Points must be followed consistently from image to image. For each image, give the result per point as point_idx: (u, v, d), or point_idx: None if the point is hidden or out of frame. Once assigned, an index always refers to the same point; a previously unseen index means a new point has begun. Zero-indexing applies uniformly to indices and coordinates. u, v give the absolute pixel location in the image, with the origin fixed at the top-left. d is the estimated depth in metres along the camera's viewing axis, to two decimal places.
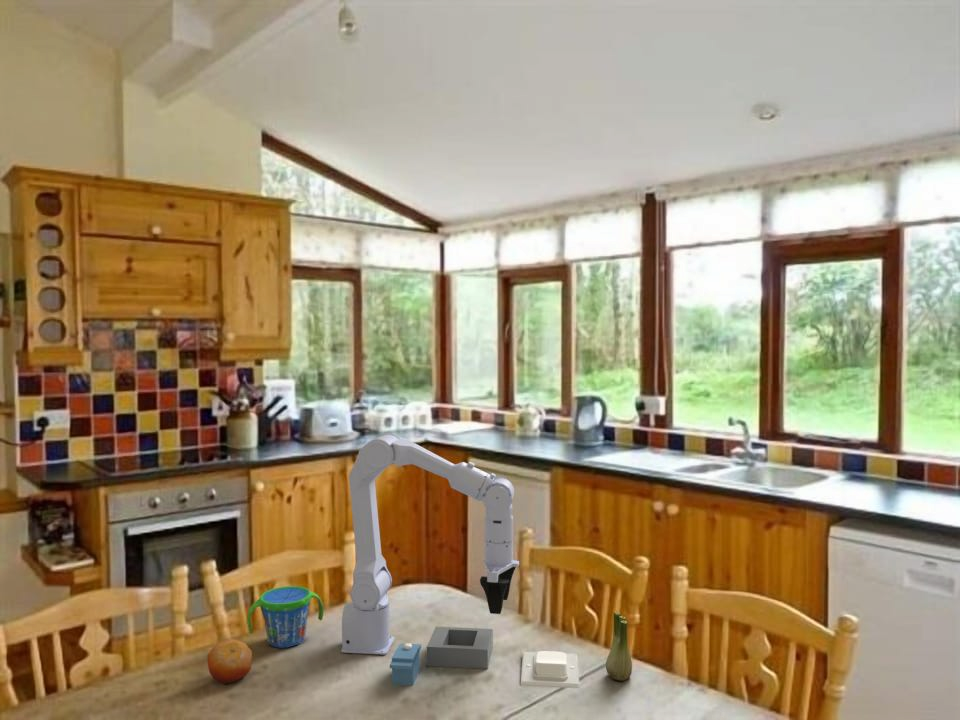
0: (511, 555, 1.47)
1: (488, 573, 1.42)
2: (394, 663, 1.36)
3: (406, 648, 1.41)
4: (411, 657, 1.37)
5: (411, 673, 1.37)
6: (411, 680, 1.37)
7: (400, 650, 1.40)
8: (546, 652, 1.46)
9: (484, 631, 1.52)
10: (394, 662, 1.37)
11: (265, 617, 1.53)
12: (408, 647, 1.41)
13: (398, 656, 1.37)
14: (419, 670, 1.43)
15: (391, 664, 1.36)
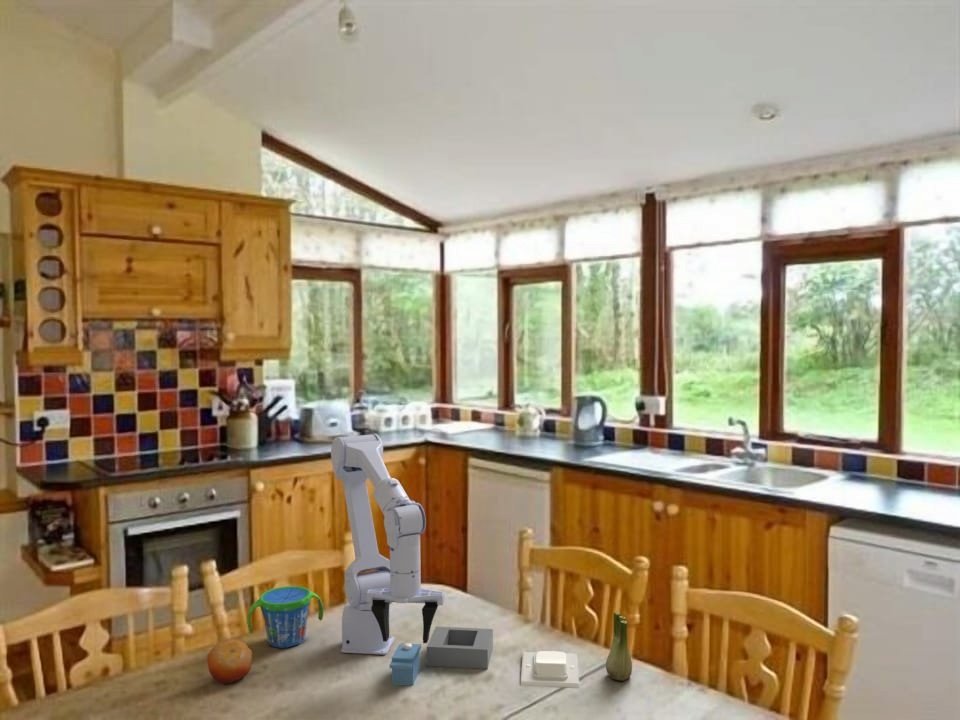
0: (397, 588, 1.37)
1: None
2: (393, 663, 1.36)
3: (406, 648, 1.41)
4: (411, 657, 1.37)
5: (411, 673, 1.37)
6: (411, 680, 1.37)
7: (400, 650, 1.40)
8: (546, 652, 1.46)
9: (484, 631, 1.52)
10: (394, 662, 1.37)
11: (265, 617, 1.53)
12: (408, 647, 1.41)
13: (398, 657, 1.37)
14: (419, 670, 1.43)
15: (391, 664, 1.36)
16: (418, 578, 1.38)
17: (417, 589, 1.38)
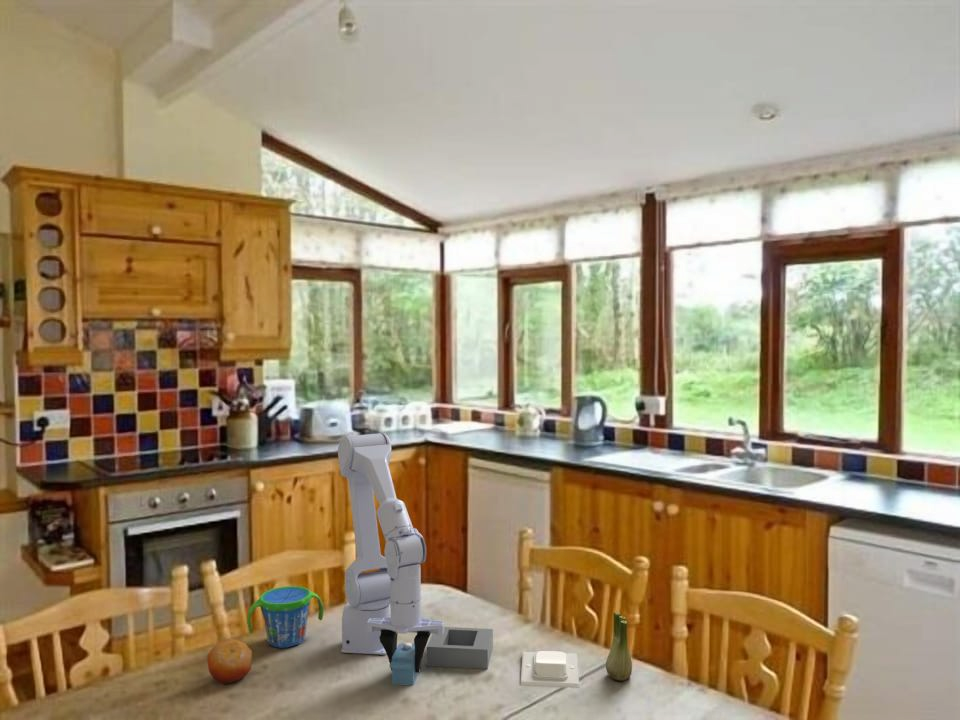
0: (397, 618, 1.37)
1: None
2: (394, 663, 1.36)
3: (406, 648, 1.41)
4: (411, 657, 1.37)
5: (411, 673, 1.37)
6: (411, 680, 1.37)
7: (400, 650, 1.40)
8: (546, 652, 1.46)
9: (484, 631, 1.52)
10: (394, 661, 1.37)
11: (265, 617, 1.53)
12: (408, 647, 1.41)
13: (398, 656, 1.37)
14: None
15: (391, 664, 1.36)
16: (419, 608, 1.38)
17: (417, 619, 1.38)
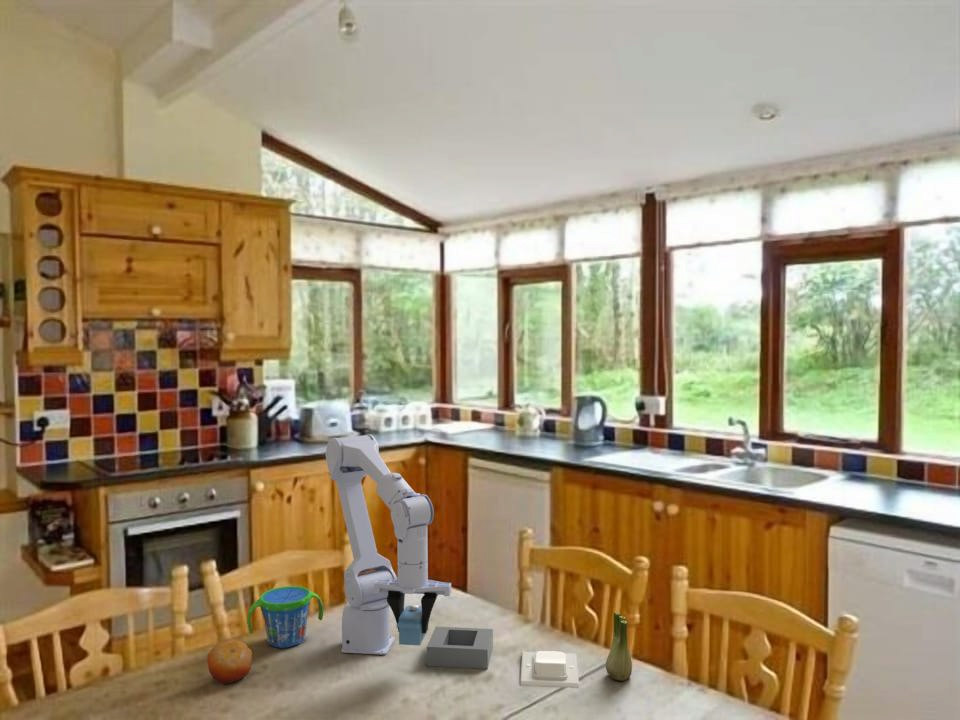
0: (405, 579, 1.38)
1: None
2: (400, 623, 1.37)
3: (413, 609, 1.41)
4: (418, 617, 1.38)
5: (418, 633, 1.38)
6: (418, 640, 1.38)
7: (407, 611, 1.41)
8: (545, 652, 1.46)
9: (484, 631, 1.52)
10: (401, 622, 1.37)
11: (265, 617, 1.53)
12: (415, 608, 1.41)
13: (405, 617, 1.38)
14: (426, 632, 1.43)
15: (398, 624, 1.37)
16: (426, 569, 1.39)
17: (424, 580, 1.39)
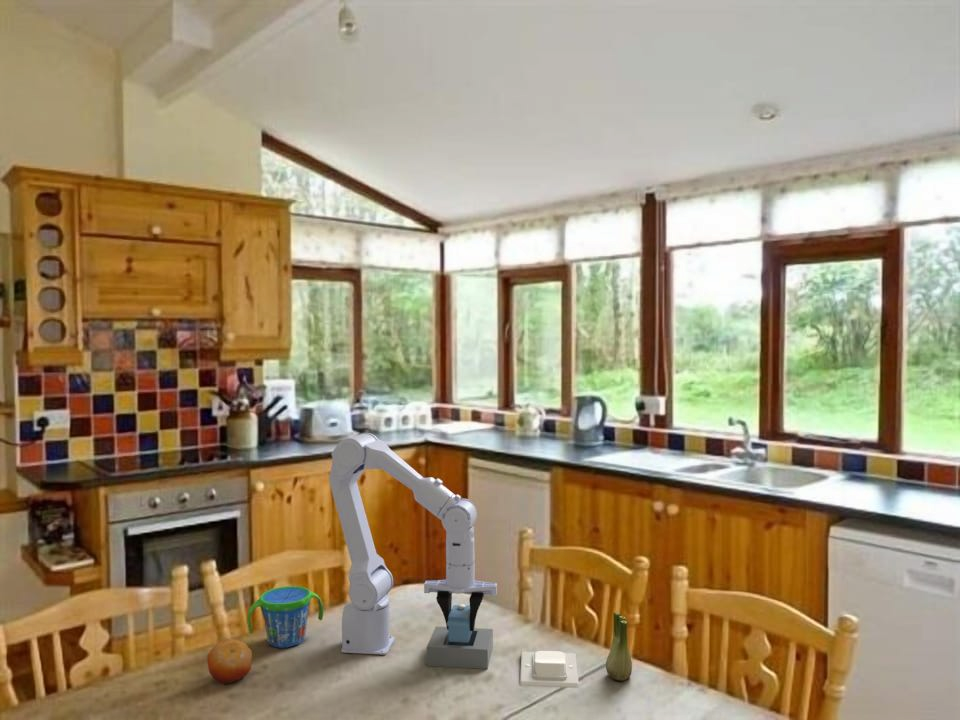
0: (454, 580, 1.46)
1: None
2: (450, 621, 1.45)
3: (460, 608, 1.49)
4: (466, 616, 1.46)
5: (467, 631, 1.45)
6: (467, 637, 1.45)
7: (455, 610, 1.49)
8: (544, 652, 1.46)
9: (484, 631, 1.52)
10: (451, 620, 1.45)
11: (265, 617, 1.53)
12: (462, 607, 1.49)
13: (454, 615, 1.46)
14: None
15: (448, 622, 1.44)
16: (473, 570, 1.47)
17: (472, 580, 1.47)
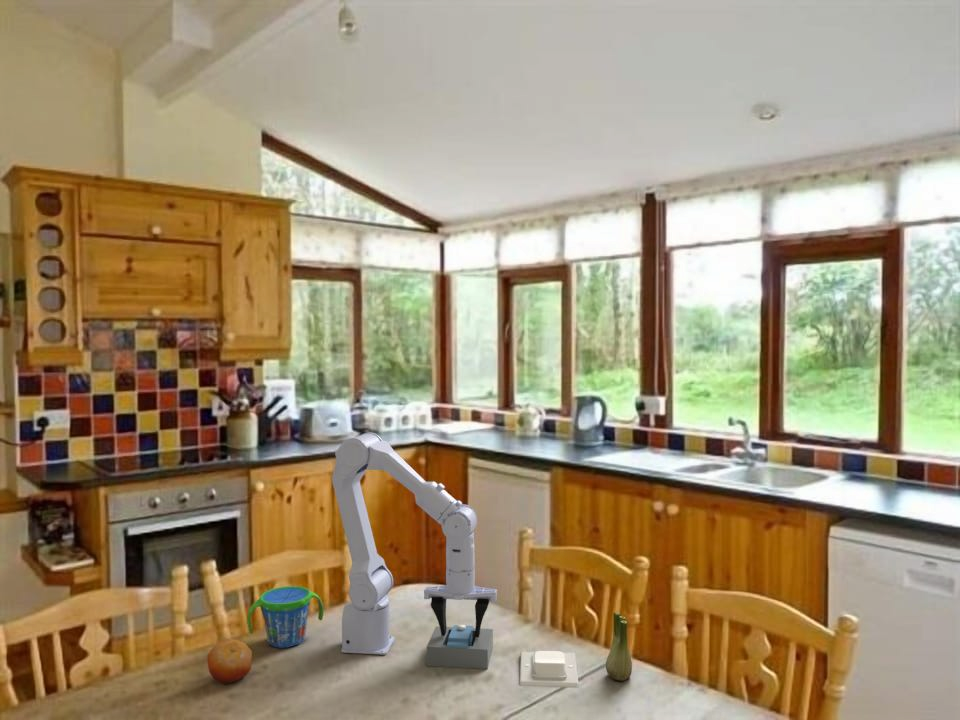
0: (454, 586, 1.46)
1: None
2: (450, 643, 1.45)
3: (460, 629, 1.49)
4: (466, 637, 1.46)
5: None
6: None
7: (455, 631, 1.49)
8: (544, 652, 1.46)
9: (484, 631, 1.52)
10: (451, 641, 1.45)
11: (265, 617, 1.53)
12: (462, 628, 1.49)
13: (454, 637, 1.46)
14: None
15: (448, 643, 1.44)
16: (473, 576, 1.47)
17: (472, 587, 1.47)
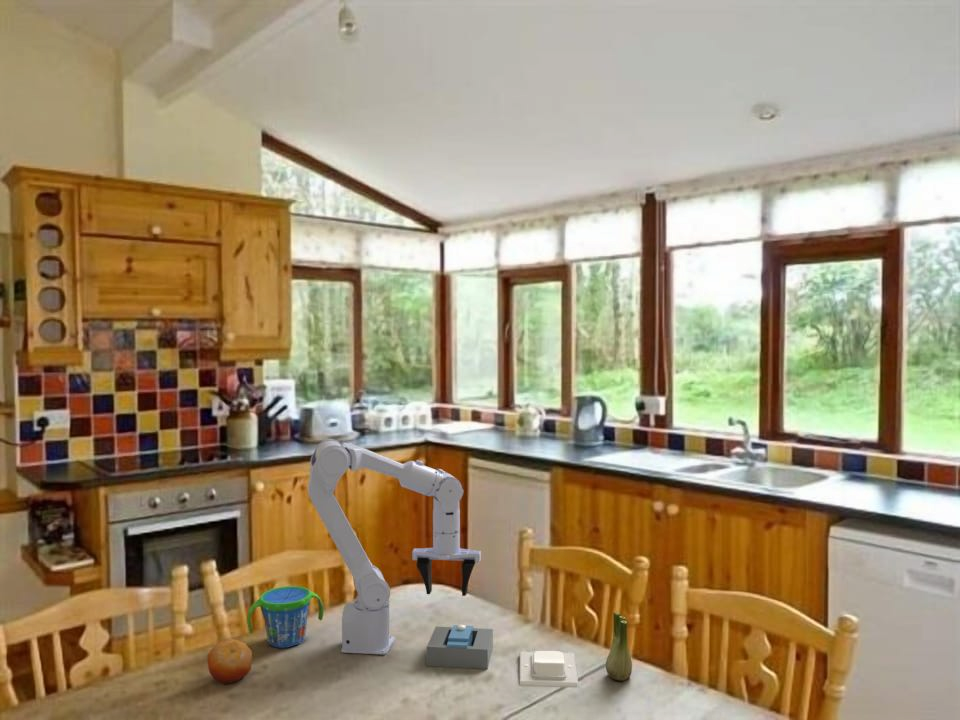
0: (440, 547, 1.55)
1: None
2: (450, 643, 1.45)
3: (460, 629, 1.49)
4: (466, 637, 1.46)
5: None
6: None
7: (455, 631, 1.49)
8: (543, 652, 1.46)
9: (484, 631, 1.52)
10: (451, 641, 1.45)
11: (265, 617, 1.53)
12: (462, 628, 1.49)
13: (454, 637, 1.46)
14: None
15: (448, 643, 1.44)
16: (458, 538, 1.56)
17: (457, 548, 1.56)
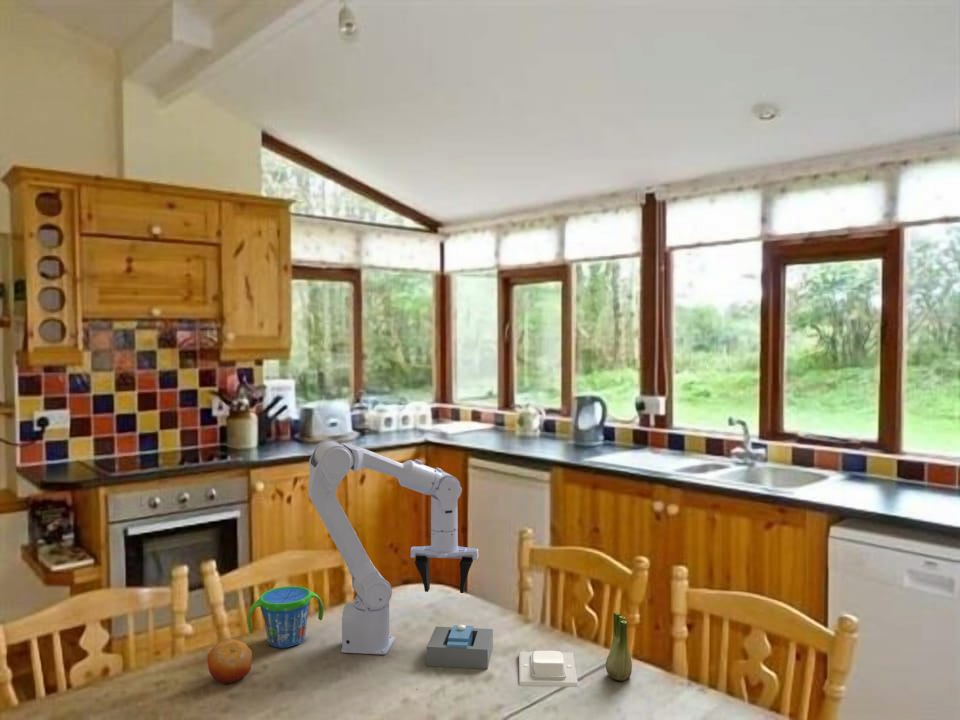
0: (438, 545, 1.57)
1: None
2: (450, 643, 1.45)
3: (460, 629, 1.49)
4: (466, 637, 1.46)
5: None
6: None
7: (455, 631, 1.49)
8: (542, 652, 1.46)
9: (484, 631, 1.52)
10: (451, 641, 1.45)
11: (265, 617, 1.53)
12: (462, 628, 1.49)
13: (454, 636, 1.46)
14: None
15: (448, 643, 1.44)
16: (456, 536, 1.58)
17: (455, 546, 1.58)
